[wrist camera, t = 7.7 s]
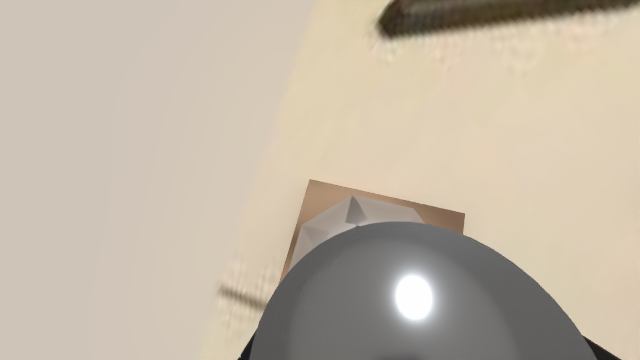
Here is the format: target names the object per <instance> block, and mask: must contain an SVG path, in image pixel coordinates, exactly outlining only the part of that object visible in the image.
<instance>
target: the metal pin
mask: <svg viewBox="0 0 640 360" xmlns="http://www.w3.org/2000/svg"><path fill="white" fill-rule="evenodd" d="M249 360H597V359H596V357H595V355H594V353H593V351H592V349H591V348H590V346H589V345H588V344H587V342H586V341H585V339H584V338H583V336H582V335H581V333H580V332H579V330H578V329H577V327H576V326H575V324H574V323H573V322H572V321H571V319H570V318H569V317H568V316H567V314H566V313H565V312H564V311H563V310H562V308H561V307H560V306H559V305H558V304H557V302H556V301H555V300H554V299H553V298H552V297H551V296H550V295H549V294H548V293H547V292H546V291H545V290H544V289H543V288H542V287H541V286H540V285H539V284H538V283H537V282H536V281H535V280H534V279H533V278H531V277H530V276H529V275H528V274H526V273H525V272H524V271H523V270H522V269H520V268H519V267H518V266H517V265H515V264H514V263H513V262H511V261H510V260H508V259H507V258H505V257H504V256H502V255H501V254H499V253H498V252H496V251H495V250H493V249H491V248H490V247H488V246H486V245H484V244H482V243H480V242H478V241H476V240H474V239H472V238H470V237H467V236H465V235H462V234H460V233H457V232H454V231H452V230H449V229H445V228H441V227H437V226H434V225H430V224H423V223H416V222H403V221H388V222H380V223H371V224H367V225H363V226H359V227H355V228H352V229H349V230H347V231H344V232H342V233H339V234H337V235H335V236H333V237H331V238H329V239H328V240H326V241H324V242H322V243H321V244H319V245H318V246H316V247H315V248H314V249H312V250H311V251H310V252H309V253H307V254H306V255H305V256H304V257H303V258H302V259H301V260H300V261H299V262H298V263H297V264H296V265H295V266H294V267H293V268H292V269H291V270H290V271H289V272H288V274H287V275H286V276H285V277H284V279H283V280H282V281H281V283H280V284H279V285H278V287H277V289H276V290H275V292H274V294H273V295H272V297H271V299H270V300H269V302H268V304H267V306H266V309H265V311H264V313H263V315H262V317H261V320H260V322H259V325H258V328H257V331H256V334H255V337H254V340H253V344H252V349H251V353H250V358H249Z"/></svg>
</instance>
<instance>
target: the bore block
mask: <svg viewBox="0 0 640 360" xmlns="http://www.w3.org/2000/svg"><path fill="white" fill-rule="evenodd" d="M464 218H465V213H460V212H456V211H451V210H446V209H442V208H437V207H433V206H428V205H424V204H419V203H415V202H410V201H406V200H401V199H397V198H392V197H388V196H383V195H379V194H374V193H370V192H365V191H361V190H356V189H352V188H347V187H343V186H338V185H334V184H329V183H325V182H320V181H315V180H311V179H310V180H309V184H308V187H307V191H306V194H305V197H304V201H303V204H302V207H301V211H300V214H299V218H298V221H297V224H296V228H295V231H294V235H293V238H292V241H291V245H290V248H289V251H288V255H287V258H286V262H285V265H284V268H283V272H282V275H281V278H280V282H279V284H280V283H281V281H282V280H283V279H284V277H285V276H286V275H287V274H288V272H289V271H290V270H291V269H292V268H293V267H294V266H295V265H296V264H297V263H298V262H299V261H300V260H301V259H302V258H303V257H304V256H305V255H306V254H307V253H309V252H310V251H311V250H312V249H314V248H315V247H316V246H318V245H319V244H321V243H322V242H324V241H326V240H328V239H329V238H331V237H333V236H335V235H337V234H339V233H342V232H344V231H347V230H349V229H352V228H355V227H359V226H363V225H367V224H371V223H380V222H388V221H403V222H416V223H423V224H430V225H434V226H437V227H441V228H445V229H449V230H452V231H454V232H457V233H460V234H462V235H463V228H464Z"/></svg>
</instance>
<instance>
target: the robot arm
mask: <svg viewBox="0 0 640 360" xmlns="http://www.w3.org/2000/svg"><path fill="white" fill-rule="evenodd" d="M256 331H257V330H256ZM256 331H255V333H254V334H253V336H252V338H251V339H250V341H249V342H248V344H247V345H246V347H245V349H244V350H243V352H242V353H241V357H239V358H238V360H249V358H250V353H251V349H252V344H253V340H254V337H255V334H256ZM582 336H583V335H582ZM583 338H584V339H585V341H586V342H587V344H588V345H589V346H590V348H591V349H592V351H593V353H594V355H595V357H596V359H597V360H621V359H619V358H618V357H616V356H614V355H613V354H611V353H610V352H608V351H607V350H605V349H603V348H602V347H600V346H599V345H597V344H595V343H594V342H592V341H591V340H589V339H588V338H586V337H584V336H583Z"/></svg>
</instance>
